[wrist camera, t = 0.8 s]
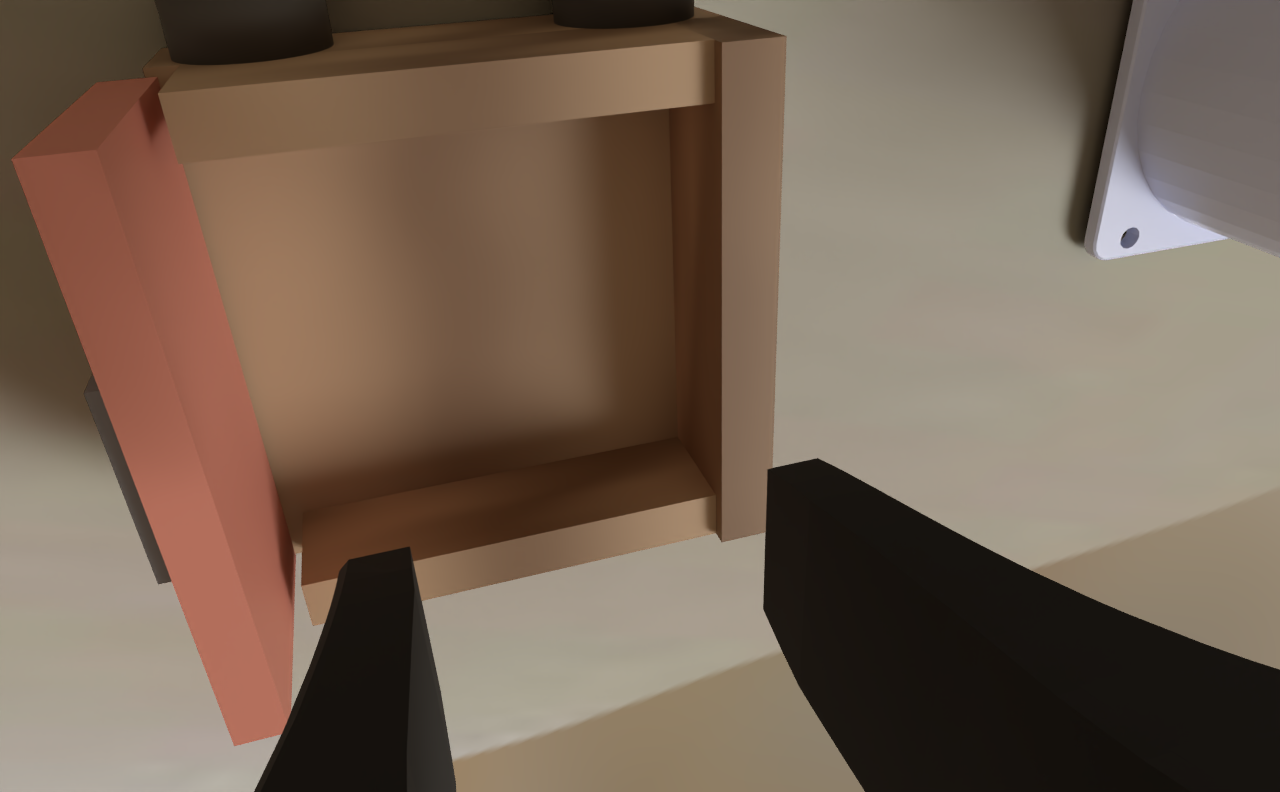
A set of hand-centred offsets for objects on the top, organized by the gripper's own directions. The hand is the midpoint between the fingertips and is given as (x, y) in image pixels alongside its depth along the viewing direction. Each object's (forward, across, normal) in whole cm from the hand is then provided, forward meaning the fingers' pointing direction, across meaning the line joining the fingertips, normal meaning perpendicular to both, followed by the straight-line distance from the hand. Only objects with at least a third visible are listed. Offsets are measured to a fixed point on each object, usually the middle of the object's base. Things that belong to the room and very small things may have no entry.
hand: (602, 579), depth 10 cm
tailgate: (+8, +5, 0) cm, 9 cm away
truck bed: (+10, 0, 0) cm, 10 cm away
